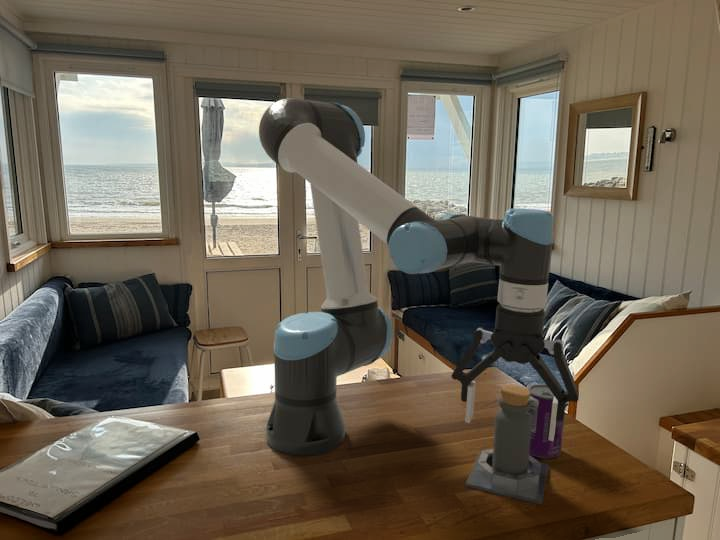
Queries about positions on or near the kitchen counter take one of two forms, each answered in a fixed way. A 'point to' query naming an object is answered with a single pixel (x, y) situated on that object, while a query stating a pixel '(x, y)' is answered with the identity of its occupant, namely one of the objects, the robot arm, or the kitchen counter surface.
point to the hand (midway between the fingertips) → (509, 428)
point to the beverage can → (543, 423)
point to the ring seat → (508, 479)
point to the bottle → (512, 432)
